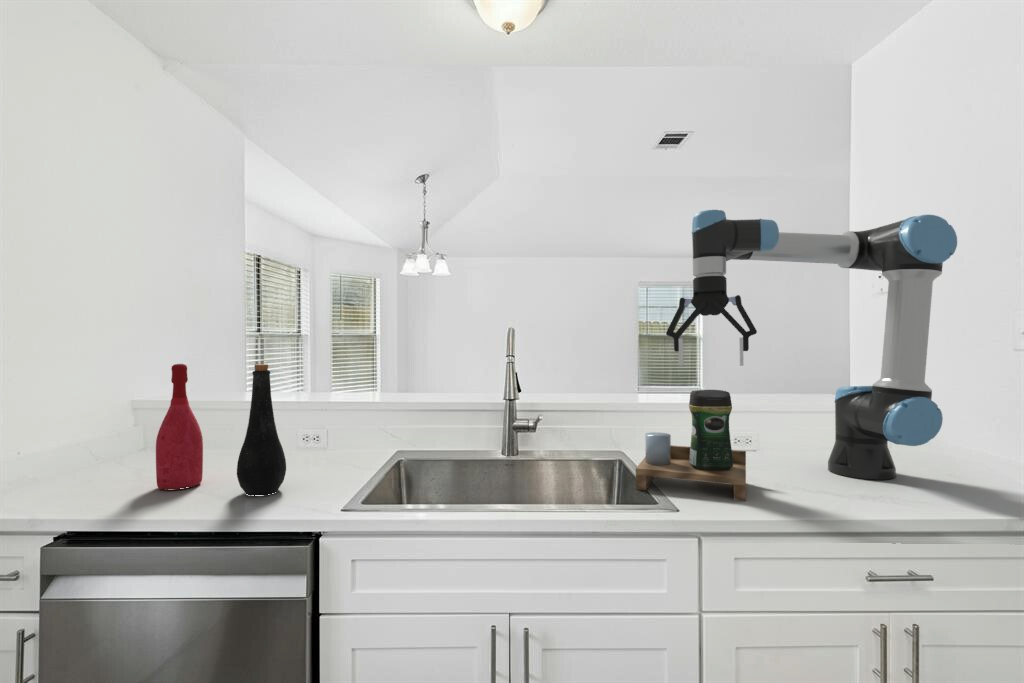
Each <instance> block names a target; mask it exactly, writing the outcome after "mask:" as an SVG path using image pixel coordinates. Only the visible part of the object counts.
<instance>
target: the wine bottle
mask: <svg viewBox="0 0 1024 683" xmlns="http://www.w3.org/2000/svg"><path fill="white" fill-rule="evenodd" d="M170 370H171V380H170V382H171V383H172V396H171V399H170V405H169V408H168V409H167V412H166V414H165V416H164V418H163V420H162V422H161V423H160V424H161V425H160V427H159V429H158V432H157V435H156V441H155V473H156V474H155V475H156V487H157V488H158V489H159V488H160V489H159V490H162V489H167V490H166V491H169V490H168V489H180V488H186V487H191V486H194V487H196V486H195V485H197V486H198V484H199V485H200V484H201V483H202V481H203V472H204V471H203V470H204V442H203V440H204V439H203V434H202V433H203V432H202V430H201V427H200V425H199V423H198V421H197V419H196V418H197V417H196V416H195V414H194V412H193V410H192V408H191V406H190V402H189V399H188V395H187V388H186V387H187V382H188V381H189V379H188V366H187V365H186V364H184V363H176V364H173V365H172V366H171V369H170ZM191 488H192V487H191Z"/></svg>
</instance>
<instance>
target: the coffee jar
mask: <svg viewBox="0 0 1024 683" xmlns="http://www.w3.org/2000/svg"><path fill="white" fill-rule="evenodd" d="M732 404H733V403H732V396H731V394H730V392H729V391H726V390H721V389H697V390H695V389H694V390H691V391H690V395H689V404H688V408H689V411H690V414H691V437H690V446H689V447H690V464H691V466H693V467H694V468H695V467H696V468H699V469H705V470H724V469H730V468H732V467H733V457H732V450H733V448H732V443H731V432H730V415H731V413H732V409H733V406H732Z"/></svg>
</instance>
